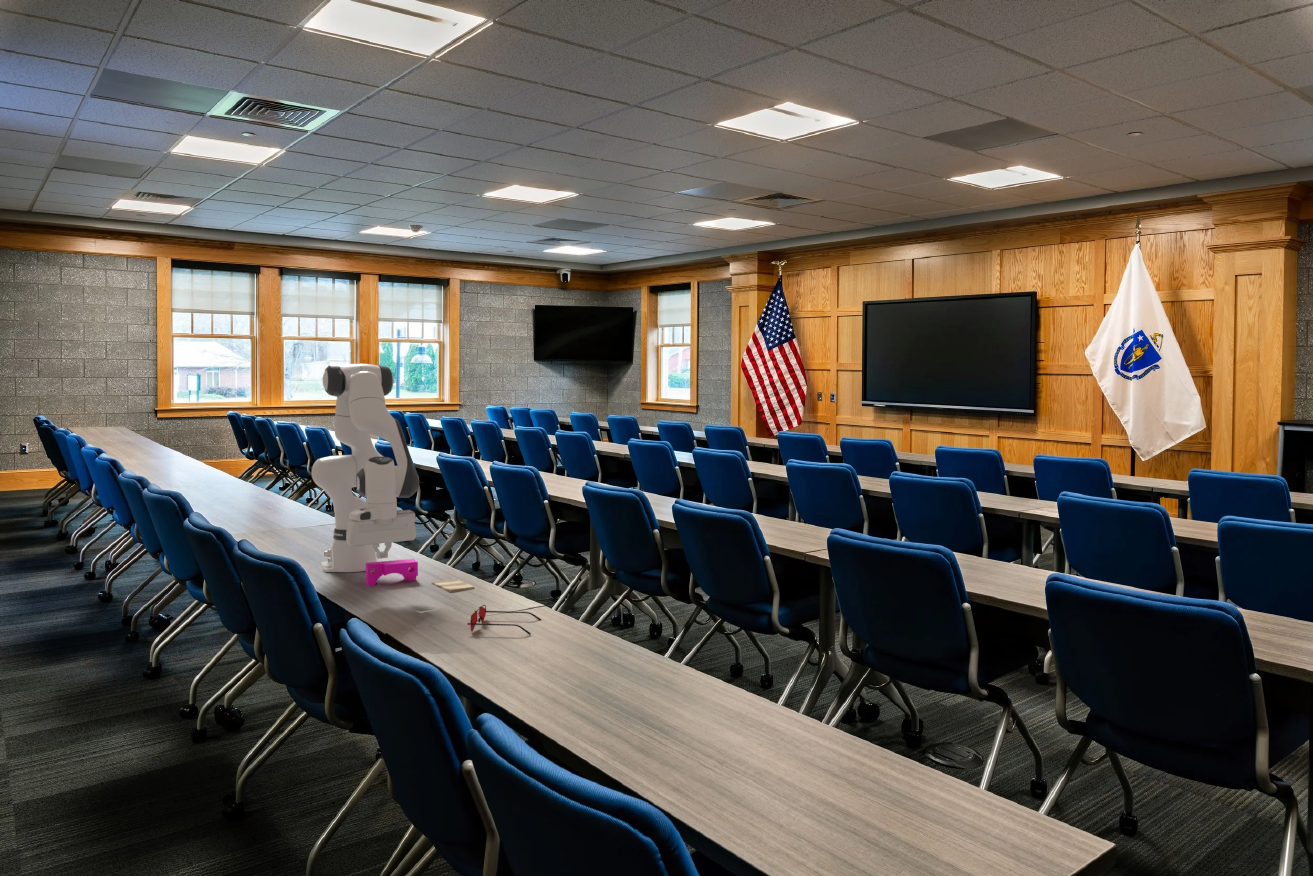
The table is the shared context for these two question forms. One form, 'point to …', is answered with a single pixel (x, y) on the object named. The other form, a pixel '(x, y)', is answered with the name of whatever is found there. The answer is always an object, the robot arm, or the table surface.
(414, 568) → the toy block
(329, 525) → the table surface
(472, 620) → the glasses
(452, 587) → the wooden board
